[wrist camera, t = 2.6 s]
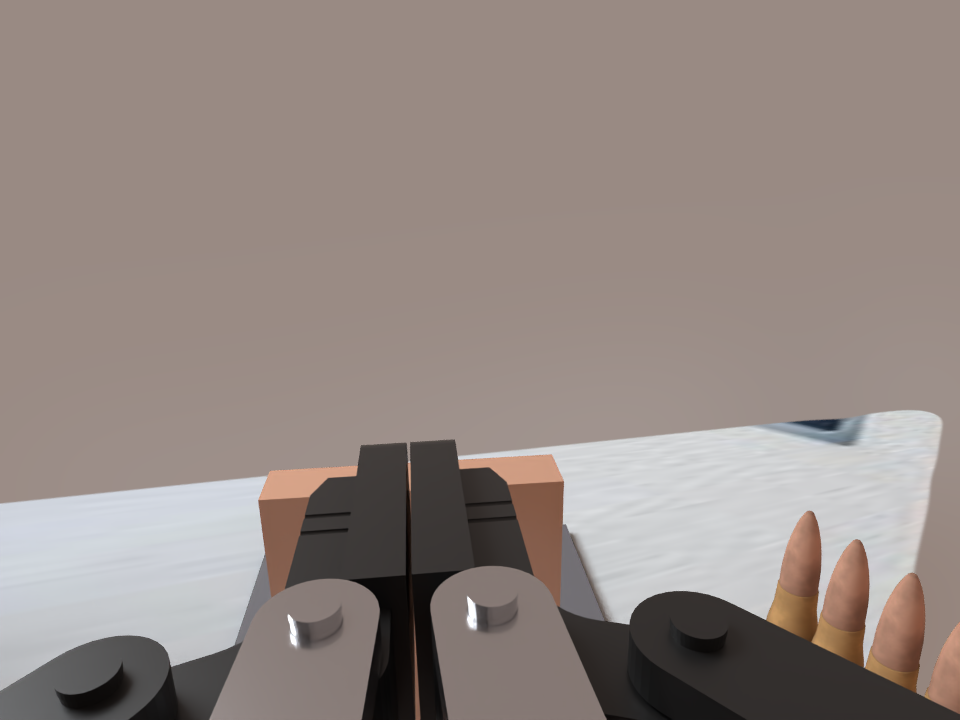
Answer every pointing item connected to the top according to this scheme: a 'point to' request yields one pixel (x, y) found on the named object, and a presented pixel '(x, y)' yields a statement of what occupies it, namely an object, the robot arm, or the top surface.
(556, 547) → the tile
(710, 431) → the top surface
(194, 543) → the top surface
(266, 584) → the mat
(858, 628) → the ammunition clip
